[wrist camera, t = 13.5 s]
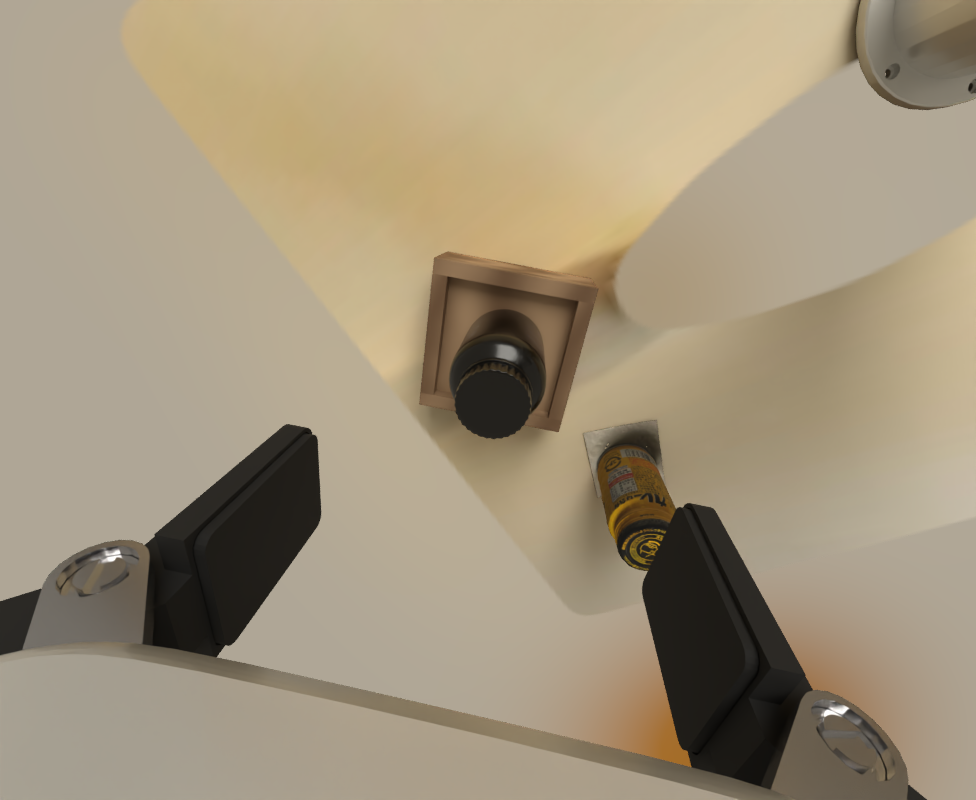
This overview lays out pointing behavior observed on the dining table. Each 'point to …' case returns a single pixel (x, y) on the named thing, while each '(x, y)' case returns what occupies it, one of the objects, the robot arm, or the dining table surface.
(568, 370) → the walnut tray
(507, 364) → the supplement bottle
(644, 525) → the condiment
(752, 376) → the dining table surface
